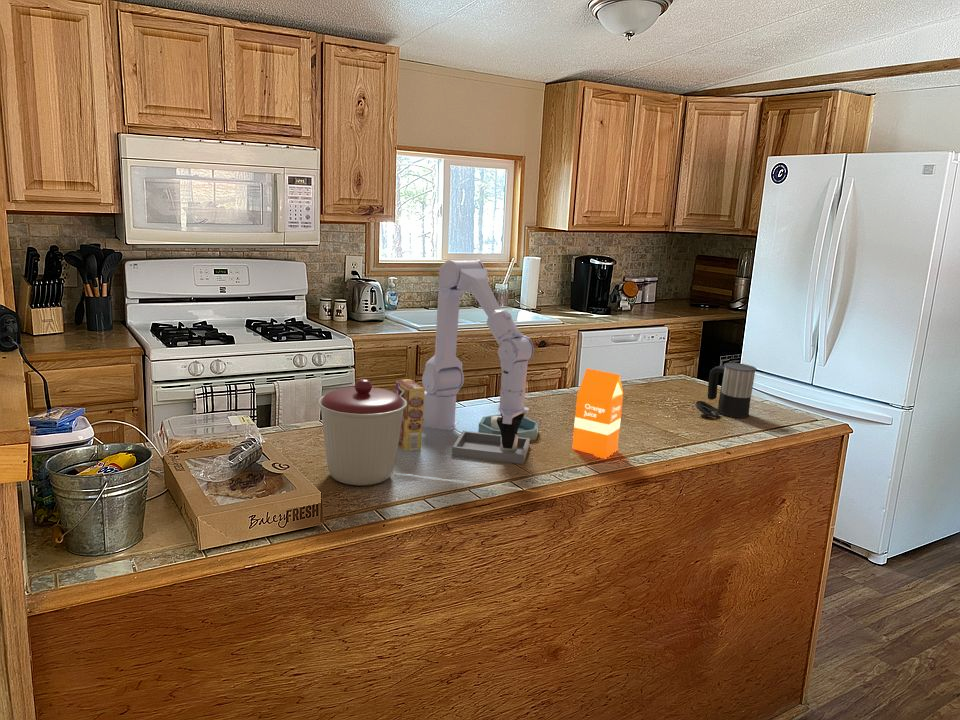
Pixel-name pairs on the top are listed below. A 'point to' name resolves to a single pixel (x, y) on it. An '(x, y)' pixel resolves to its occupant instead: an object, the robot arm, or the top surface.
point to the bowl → (525, 429)
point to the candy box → (411, 414)
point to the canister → (361, 432)
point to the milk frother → (730, 390)
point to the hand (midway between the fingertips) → (508, 444)
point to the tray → (488, 447)
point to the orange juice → (598, 413)
